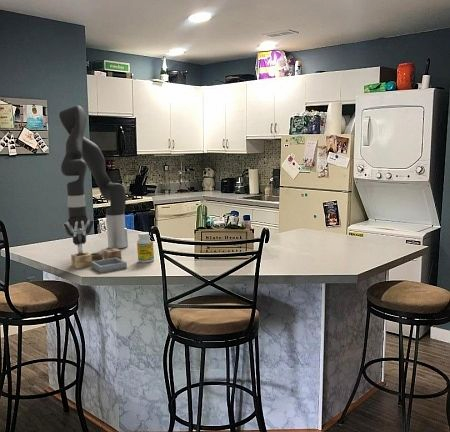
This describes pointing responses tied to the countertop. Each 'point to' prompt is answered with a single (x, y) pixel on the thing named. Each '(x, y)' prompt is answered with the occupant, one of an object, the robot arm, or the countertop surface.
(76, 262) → the block
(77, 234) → the pin gauge
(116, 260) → the tray
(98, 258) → the pin stand
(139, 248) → the supplement bottle
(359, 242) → the countertop surface
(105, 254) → the block
